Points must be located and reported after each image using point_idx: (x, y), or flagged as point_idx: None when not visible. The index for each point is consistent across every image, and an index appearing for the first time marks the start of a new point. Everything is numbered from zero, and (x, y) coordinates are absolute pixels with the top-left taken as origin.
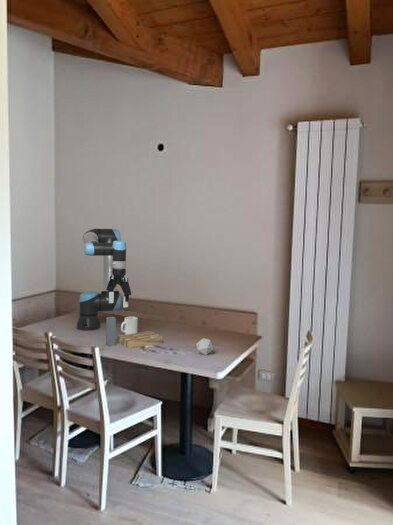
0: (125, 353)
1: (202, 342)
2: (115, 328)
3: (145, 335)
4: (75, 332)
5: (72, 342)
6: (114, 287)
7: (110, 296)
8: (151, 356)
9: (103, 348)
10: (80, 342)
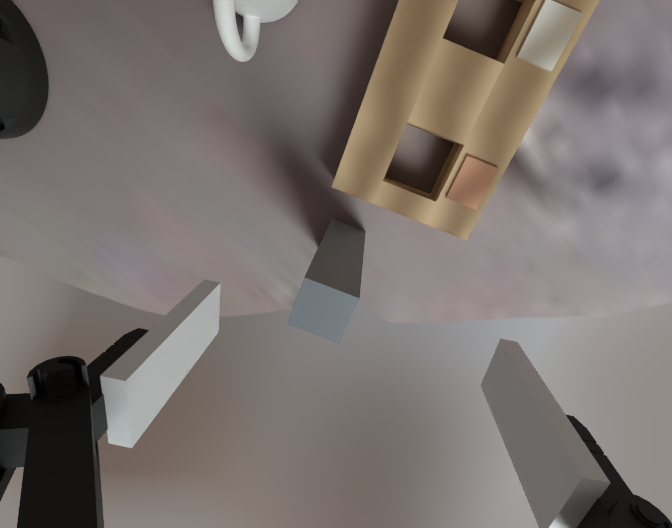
0: (488, 295)
1: None
2: (361, 266)
3: (476, 54)
4: (46, 192)
5: None
6: (96, 501)
7: (174, 381)
8: (634, 257)
9: None
10: None
